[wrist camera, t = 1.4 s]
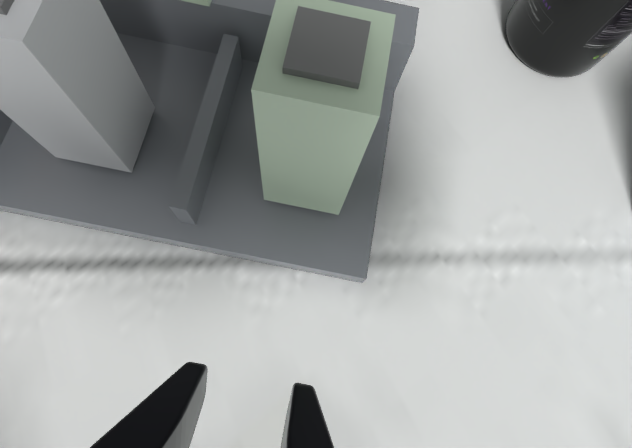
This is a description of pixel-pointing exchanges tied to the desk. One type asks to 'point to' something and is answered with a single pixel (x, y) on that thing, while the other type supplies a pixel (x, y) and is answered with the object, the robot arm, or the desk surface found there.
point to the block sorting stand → (205, 147)
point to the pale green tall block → (318, 98)
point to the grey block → (72, 82)
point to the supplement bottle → (567, 33)
